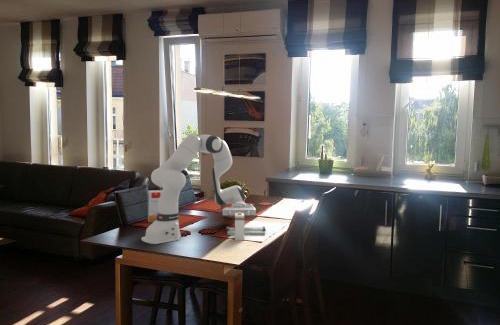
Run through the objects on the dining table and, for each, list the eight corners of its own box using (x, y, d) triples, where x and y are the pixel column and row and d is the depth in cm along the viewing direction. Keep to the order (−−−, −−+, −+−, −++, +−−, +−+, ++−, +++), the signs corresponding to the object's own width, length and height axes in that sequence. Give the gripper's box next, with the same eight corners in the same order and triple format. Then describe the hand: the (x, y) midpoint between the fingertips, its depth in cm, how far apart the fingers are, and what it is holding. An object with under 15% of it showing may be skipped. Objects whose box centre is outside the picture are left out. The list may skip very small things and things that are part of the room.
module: (234, 236, 248) (235, 211, 247) (243, 236, 249) (243, 211, 247) (235, 240, 241) (235, 214, 240) (244, 240, 241) (244, 214, 240)
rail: (226, 231, 254) (226, 228, 254) (226, 229, 259) (226, 226, 259) (265, 231, 256) (265, 228, 256) (264, 229, 261) (264, 226, 261)
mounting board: (227, 234, 252) (227, 232, 252) (227, 230, 262) (227, 228, 262) (265, 234, 253) (265, 232, 253) (263, 230, 263) (263, 228, 263)
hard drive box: (148, 222, 278) (147, 192, 276) (147, 220, 286) (147, 190, 284) (172, 221, 283) (172, 191, 280) (171, 218, 290) (171, 189, 288)
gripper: (222, 204, 269) (221, 209, 255) (254, 204, 270) (256, 208, 256) (222, 214, 270) (221, 219, 256) (254, 213, 271) (256, 219, 257)
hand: (239, 214), depth 256 cm, fingers open, 8 cm apart
